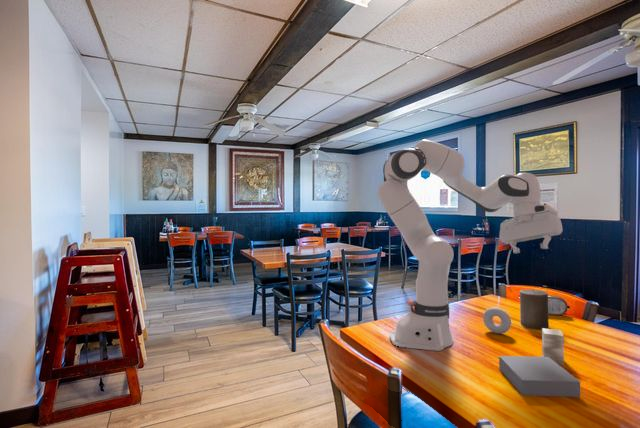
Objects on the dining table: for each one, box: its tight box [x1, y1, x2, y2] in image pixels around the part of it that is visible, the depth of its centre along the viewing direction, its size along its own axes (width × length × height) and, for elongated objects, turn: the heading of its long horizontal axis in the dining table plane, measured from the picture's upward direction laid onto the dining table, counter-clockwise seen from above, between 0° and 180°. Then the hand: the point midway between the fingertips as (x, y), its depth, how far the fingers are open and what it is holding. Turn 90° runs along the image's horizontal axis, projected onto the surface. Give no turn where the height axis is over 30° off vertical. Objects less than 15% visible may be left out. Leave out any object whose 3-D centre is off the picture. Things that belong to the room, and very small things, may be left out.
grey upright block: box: [541, 328, 565, 366], centre depth 105 cm, size 5×5×9 cm
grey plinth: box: [498, 355, 581, 398], centre depth 92 cm, size 14×14×4 cm
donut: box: [482, 306, 512, 335], centre depth 128 cm, size 10×3×10 cm, turn 45°
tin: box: [548, 294, 568, 316], centre depth 148 cm, size 15×3×8 cm, turn 58°
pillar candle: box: [519, 288, 550, 331], centre depth 135 cm, size 10×10×15 cm
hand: (529, 250), depth 115 cm, fingers open, 8 cm apart
